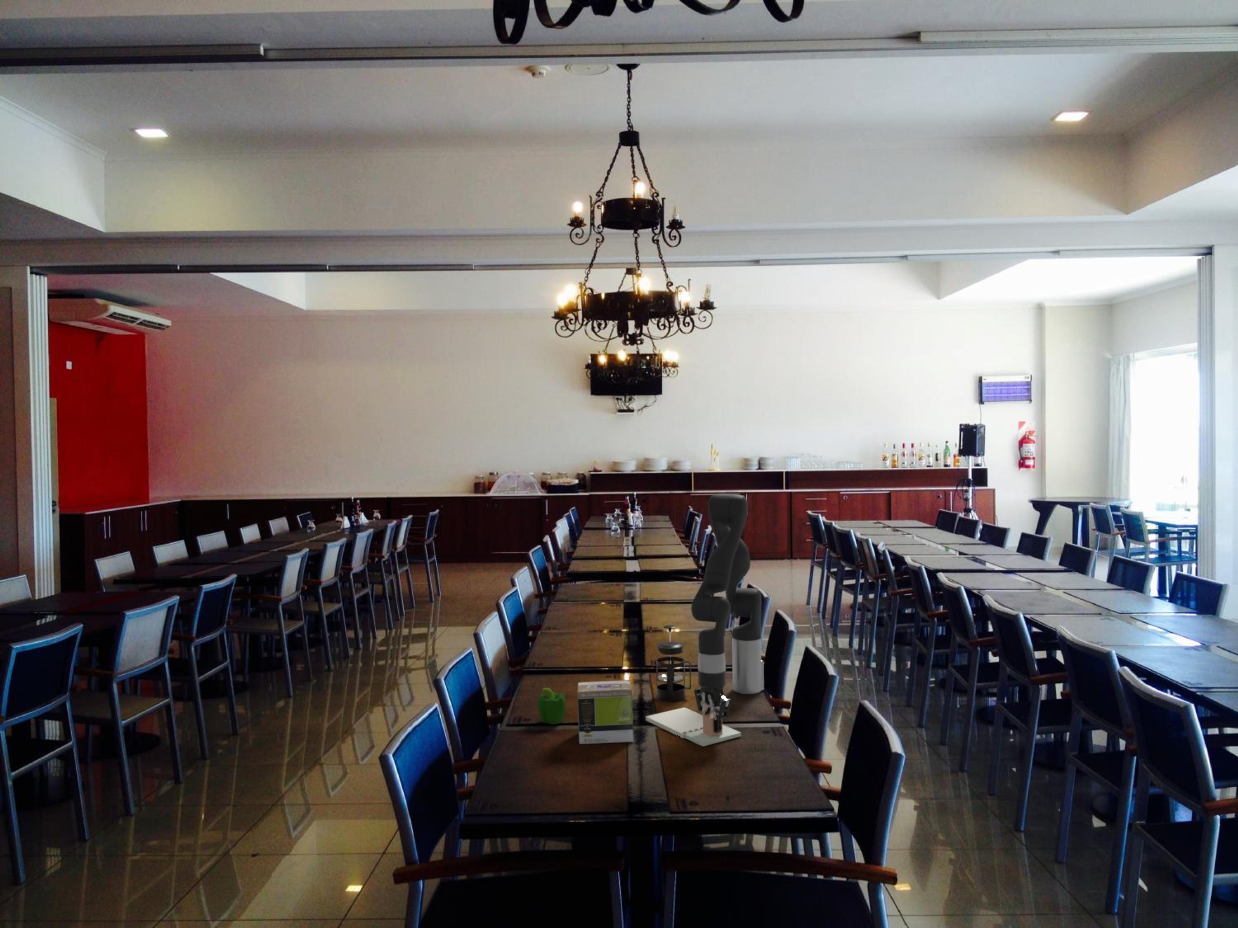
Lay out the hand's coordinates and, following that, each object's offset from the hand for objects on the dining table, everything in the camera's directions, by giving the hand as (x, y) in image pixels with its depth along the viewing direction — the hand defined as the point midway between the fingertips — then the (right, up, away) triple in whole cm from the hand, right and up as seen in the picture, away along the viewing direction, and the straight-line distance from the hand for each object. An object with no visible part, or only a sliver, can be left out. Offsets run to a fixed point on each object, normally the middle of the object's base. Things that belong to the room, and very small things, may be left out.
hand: (712, 729), depth 238 cm
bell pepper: (-45, -3, +15) cm, 48 cm away
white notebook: (-7, -2, +11) cm, 13 cm away
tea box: (-29, -3, +2) cm, 30 cm away
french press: (-9, -1, +36) cm, 37 cm away
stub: (0, -2, 0) cm, 2 cm away
